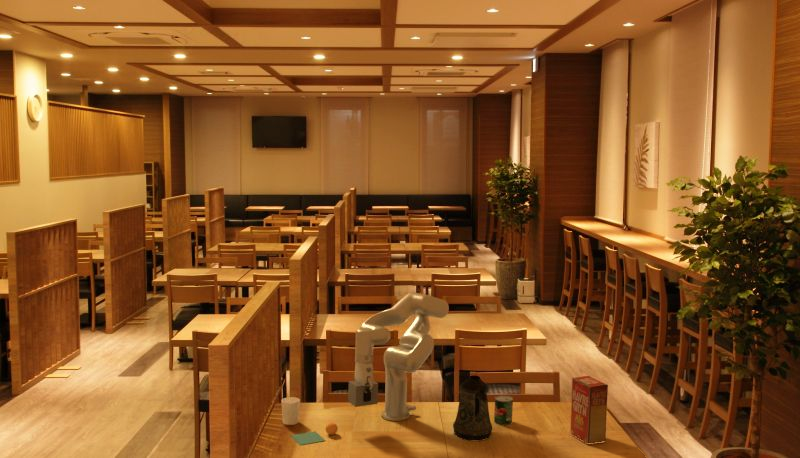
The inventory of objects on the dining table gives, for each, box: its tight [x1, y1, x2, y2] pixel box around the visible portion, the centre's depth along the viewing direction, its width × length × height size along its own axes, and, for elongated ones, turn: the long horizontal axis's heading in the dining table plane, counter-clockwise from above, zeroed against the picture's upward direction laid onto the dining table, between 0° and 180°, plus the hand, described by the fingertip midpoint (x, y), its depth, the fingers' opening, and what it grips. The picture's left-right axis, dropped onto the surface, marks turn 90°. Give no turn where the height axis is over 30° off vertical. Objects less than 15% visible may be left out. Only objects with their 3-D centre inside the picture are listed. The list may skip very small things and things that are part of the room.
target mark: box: [290, 430, 326, 446], centre depth 324 cm, size 11×11×1 cm
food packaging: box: [569, 375, 609, 443], centre depth 329 cm, size 13×9×25 cm
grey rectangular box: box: [347, 379, 379, 408], centre depth 333 cm, size 10×8×9 cm
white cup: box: [280, 396, 301, 426], centre depth 341 cm, size 8×8×10 cm
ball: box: [325, 422, 339, 435], centre depth 329 cm, size 5×5×5 cm
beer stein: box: [452, 374, 493, 441], centre depth 330 cm, size 16×19×25 cm
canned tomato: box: [493, 395, 514, 426], centre depth 346 cm, size 8×8×11 cm
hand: (362, 397), depth 334 cm, fingers closed on grey rectangular box, 7 cm apart
